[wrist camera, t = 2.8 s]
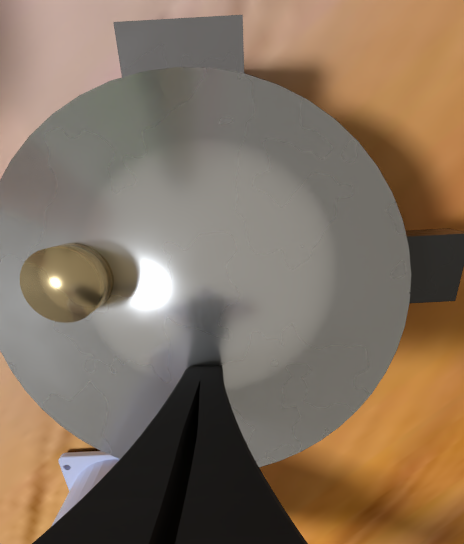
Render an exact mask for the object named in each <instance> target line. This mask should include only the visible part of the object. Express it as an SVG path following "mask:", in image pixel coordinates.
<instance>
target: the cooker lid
mask: <svg viewBox="0 0 464 544" xmlns="http://www.w3.org/2000/svg"><path fill="white" fill-rule="evenodd" d="M410 287H411V266H410V254H409V245H408V241H407V237H406V232H405V228H404V223H403V219H402V217H401V214H400V212H399V209H398V206H397V204H396V201H395V199H394V196H393V193H392V191H391V190H390V188H389V186H388V184H387V182H386V181H385V179H384V177H383V175H382V174H381V172H380V170H379V168H378V166H377V165H376V164H375V163H374V161H373V160H372V159H371V157H370V156H369V155H368V153H367V152H366V151H365V150H364V148H363V147H362V146H361V144H360V143H359V142H358V141H357V140H356V139H355V138H354V137H353V136H352V135H351V134H350V133H349V132H348V131H347V130H346V129H345V128H344V127H343V126H342V125H341V124H340V123H339V122H337V121H336V120H335V119H334V118H333V117H331V116H330V115H329V114H327V113H326V112H324V111H323V110H321V109H320V108H319V107H317V106H316V105H314V104H313V103H312V102H310V101H309V100H307V99H305V98H303V97H301V96H299V95H297V94H295V93H293V92H292V91H290V90H288V89H286V88H284V87H282V86H280V85H278V84H275V83H272V82H269V81H266V80H263V79H260V78H257V77H254V76H251V75H248V74H244V73H239V72H233V71H227V70H221V69H216V68H200V67H173V68H165V69H158V70H150V71H143V72H139V73H136V74H132V75H129V76H126V77H122V78H119V79H115V80H112V81H109V82H107V83H105V84H103V85H101V86H99V87H96V88H94V89H92V90H90V91H88V92H86V93H84V94H82V95H80V96H78V97H77V98H75V99H74V100H72V101H71V102H69V103H68V104H67V105H65V106H64V107H62V108H61V109H59V110H58V111H56V112H55V113H53V114H52V115H51V116H50V117H49V118H48V119H47V120H46V121H45V122H44V123H43V124H42V125H41V126H40V127H39V128H37V129H36V130H35V131H34V132H33V133H32V134H31V135H30V136H29V137H28V139H27V140H26V141H25V143H24V144H23V145H22V147H21V148H20V149H19V151H18V152H17V153H16V155H15V156H14V157H13V158H12V160H11V161H10V163H9V165H8V167H7V169H6V171H5V172H4V174H3V176H2V178H1V180H0V351H1V352H2V354H3V356H4V358H5V360H6V362H7V364H8V365H9V367H10V369H11V371H12V372H13V374H14V375H15V376H16V378H17V379H18V381H19V382H20V383H21V385H22V386H23V388H24V389H25V391H26V392H27V393H28V394H29V395H30V396H31V397H32V398H33V399H34V401H35V402H36V403H37V404H38V405H39V406H40V407H41V408H42V409H43V410H44V411H45V412H46V413H47V414H48V415H49V416H51V417H52V418H53V419H54V420H55V421H56V422H57V423H58V424H60V425H61V426H62V427H64V428H65V429H66V430H68V431H69V432H71V433H72V434H73V435H75V436H76V437H78V438H79V439H81V440H82V441H84V442H86V443H88V444H89V445H91V446H93V447H95V448H97V449H98V450H100V451H102V452H105V453H107V454H109V455H112V456H114V457H116V458H118V459H121V458H122V456H123V455H124V454H125V453H126V452H127V451H128V450H129V449H130V447H131V446H132V445H133V444H134V443H135V441H136V440H137V439H138V438H139V437H140V435H141V434H142V433H143V431H144V430H145V429H146V428H147V426H148V425H149V424H150V422H151V421H152V420H153V418H154V417H155V416H156V414H157V413H158V412H159V410H160V409H161V407H162V406H163V405H164V403H165V402H166V400H167V399H168V397H169V396H170V394H171V393H172V391H173V390H174V388H175V387H176V385H177V383H178V382H179V380H180V378H181V377H182V375H183V373H184V371H185V370H186V369H187V368H188V367H201V366H221V367H222V368H223V379H224V385H225V389H226V393H227V396H228V399H229V402H230V405H231V408H232V411H233V413H234V416H235V419H236V421H237V423H238V426H239V428H240V430H241V433H242V435H243V437H244V439H245V441H246V443H247V446H248V448H249V450H250V451H251V453H252V455H253V457H254V459H255V461H256V463H257V465H258V467H262V466H265V465H268V464H271V463H275V462H278V461H281V460H283V459H285V458H288V457H290V456H292V455H294V454H297V453H299V452H301V451H303V450H305V449H307V448H308V447H310V446H312V445H314V444H315V443H317V442H319V441H321V440H322V439H323V438H325V437H326V436H328V435H329V434H330V433H332V432H333V431H334V430H336V429H337V428H338V427H340V426H341V425H342V424H343V423H344V422H345V421H346V420H347V419H349V418H350V417H351V416H352V415H353V414H354V413H355V412H356V411H357V410H358V409H359V408H360V407H361V405H362V404H363V403H364V402H365V401H366V400H367V398H368V397H369V396H370V395H371V394H372V392H373V391H374V389H375V388H376V386H377V385H378V383H379V382H380V380H381V379H382V377H383V376H384V374H385V373H386V371H387V369H388V367H389V365H390V363H391V361H392V359H393V357H394V355H395V353H396V351H397V348H398V345H399V342H400V339H401V336H402V333H403V330H404V327H405V323H406V318H407V312H408V307H409V302H410Z"/></svg>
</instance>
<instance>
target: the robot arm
mask: <svg viewBox="0 0 464 544" xmlns="http://www.w3.org/2000/svg"><path fill="white" fill-rule="evenodd" d="M59 464H60V467H61V470H62V472H63V475H64V478H65V481H66V483H67V486H68V489H69V491H70V492H69V493H68V495H67V497H66V499H65V501H64V503H63V505H62V507H61V509H60V511H59V513H58V515H57V517H56V518H55V520H54V522H53V524H52V526H51V528H49V529H48V530H47V531H46V532H45V533H44V534H43V535H42V536H40V537H39V538H38V539H37V540H36V541H35V542H34V543H32V544H308V543H307V542H306V541H305V539H304V538H303V536H302V535H301V534H300V532H299V531H298V529H297V528H296V526H295V525H294V523H293V522H292V520H291V519H290V517H289V516H288V514H287V513H286V511H285V510H284V508H283V507H282V505H281V503H280V502H279V500H278V499H277V497H276V495H275V494H274V492H273V490H272V489H271V487H270V485H269V484H268V482H267V481H266V479H265V477H264V476H263V474H262V472H261V470H260V468H259V467H258V465H257V463H256V461H255V459H254V457H253V455H252V453H251V451H250V450H249V448H248V446H247V443H246V441H245V439H244V437H243V435H242V433H241V430H240V428H239V426H238V423H237V421H236V419H235V416H234V413H233V411H232V408H231V405H230V402H229V399H228V396H227V393H226V389H225V385H224V379H223V368H222V367H221V366H201V367H188V368H187V369H186V370H185V371H184V373H183V375H182V377H181V378H180V380H179V382H178V383H177V385H176V387H175V388H174V390H173V391H172V393H171V394H170V396H169V397H168V399H167V400H166V402H165V403H164V405H163V406H162V407H161V409H160V410H159V412H158V413H157V414H156V416H155V417H154V418H153V420H152V421H151V422H150V424H149V425H148V426H147V428H146V429H145V430H144V431H143V433H142V434H141V435H140V437H139V438H138V439H137V440H136V441H135V443H134V444H133V445H132V446H131V447H130V449H129V450H128V451H127V452H126V453H125V454H124V455H123V456H122V458H121V459H118V458H116V457H114V456H112V455H109V454H107V453H105V452H102V451H89V452H68V453H63V454H62V455H61V457H60V458H59Z"/></svg>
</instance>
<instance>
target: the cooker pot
mask: <svg viewBox="0 0 464 544" xmlns="http://www.w3.org/2000/svg"><path fill="white" fill-rule="evenodd" d="M114 29H115V35H116V41H117V48H118V54H119V61H120V67H121V73H122V77H126V76H129V75H132V74H136V73H139V72H143V71H150V70H158V69H165V68H173V67H200V68H216V69H221V70H227V71H233V72H239V73H244V52H243V18H242V15H231V16H213V17H196V18H178V19H161V20H143V21H126V22H114ZM405 232H406V237H407V241H408V245H409V254H410V266H411V287H410V302H409V303H424V302H443V301H455V300H456V295H457V291H458V287H459V283H460V279H461V275H462V271H463V267H464V232H463V231H458V230H453V229H448V228H447V229H428V230H409V231H405Z"/></svg>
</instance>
